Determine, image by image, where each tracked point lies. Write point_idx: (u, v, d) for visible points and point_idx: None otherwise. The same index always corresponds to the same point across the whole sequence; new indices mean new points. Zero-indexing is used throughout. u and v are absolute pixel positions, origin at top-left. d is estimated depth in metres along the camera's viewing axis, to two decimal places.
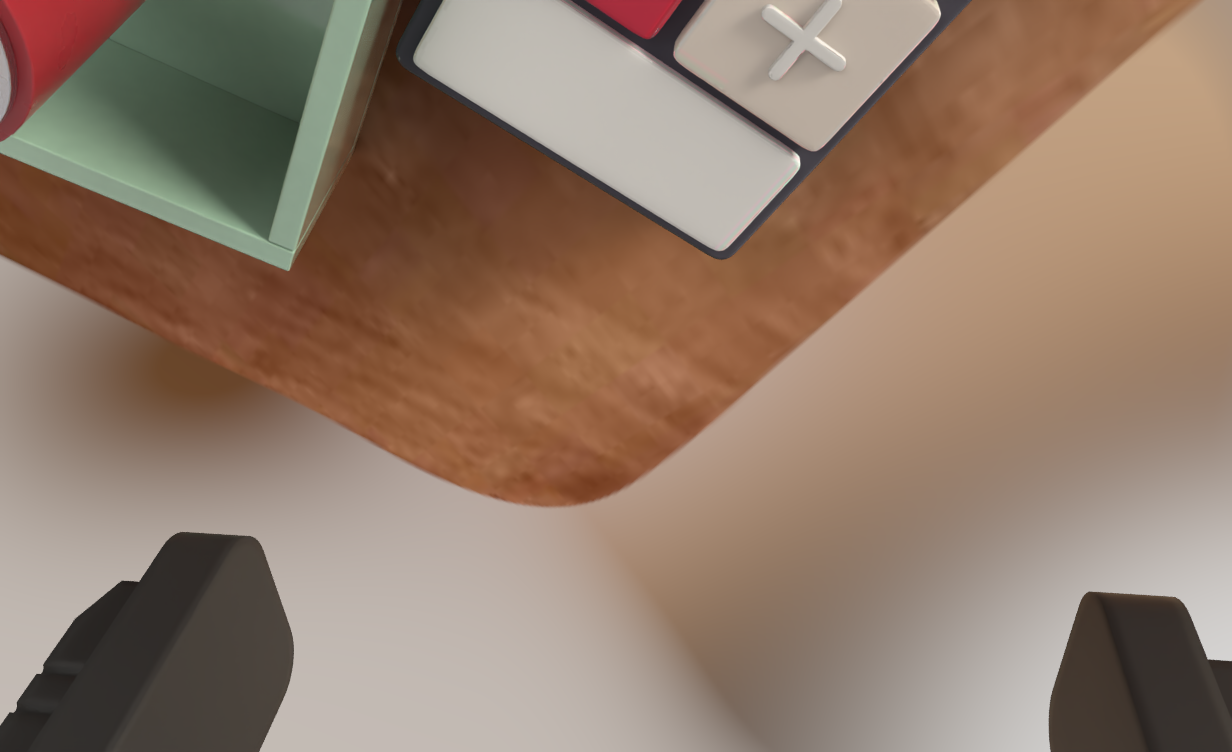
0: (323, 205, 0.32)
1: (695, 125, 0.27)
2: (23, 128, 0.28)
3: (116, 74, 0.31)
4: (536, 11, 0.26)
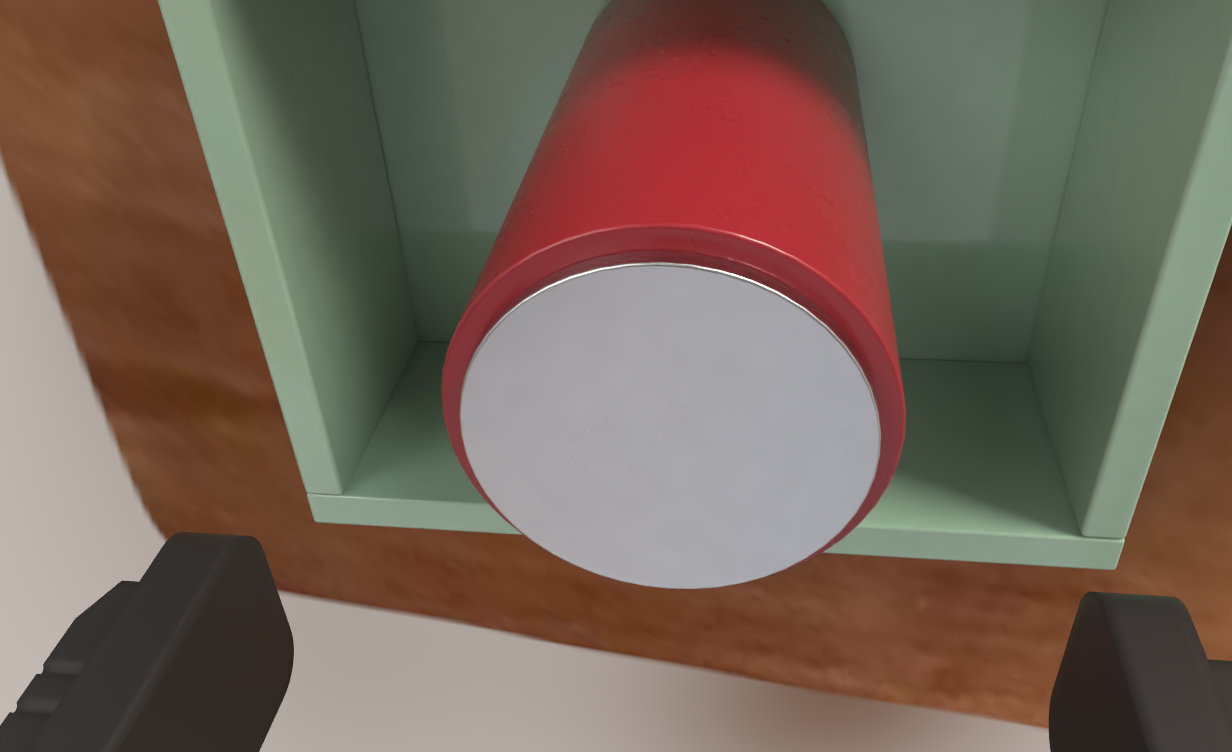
0: None
1: None
2: None
3: None
4: None
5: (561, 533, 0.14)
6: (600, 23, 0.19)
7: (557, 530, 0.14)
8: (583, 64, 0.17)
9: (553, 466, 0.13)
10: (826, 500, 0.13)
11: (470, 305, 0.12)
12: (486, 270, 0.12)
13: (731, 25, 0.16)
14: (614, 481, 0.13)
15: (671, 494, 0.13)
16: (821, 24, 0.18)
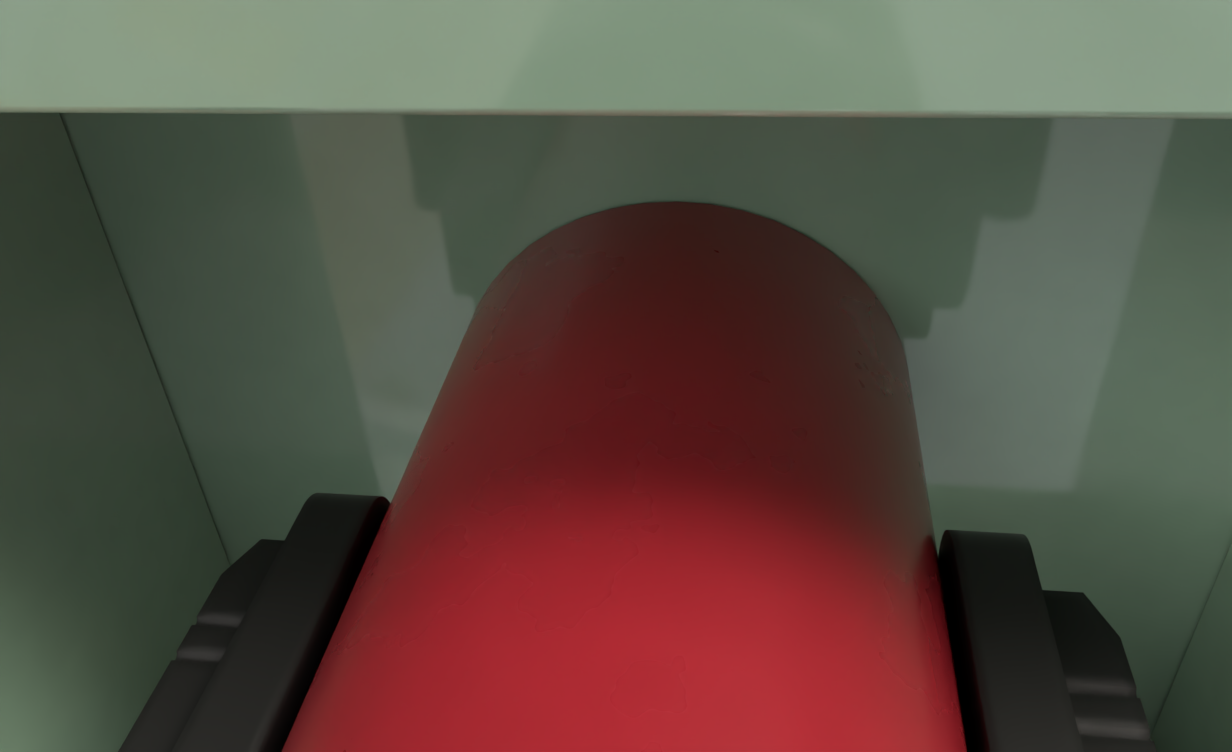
0: None
1: None
2: None
3: None
4: None
5: None
6: (487, 315, 0.11)
7: None
8: (436, 438, 0.10)
9: None
10: None
11: None
12: None
13: (695, 413, 0.09)
14: None
15: None
16: (857, 336, 0.11)
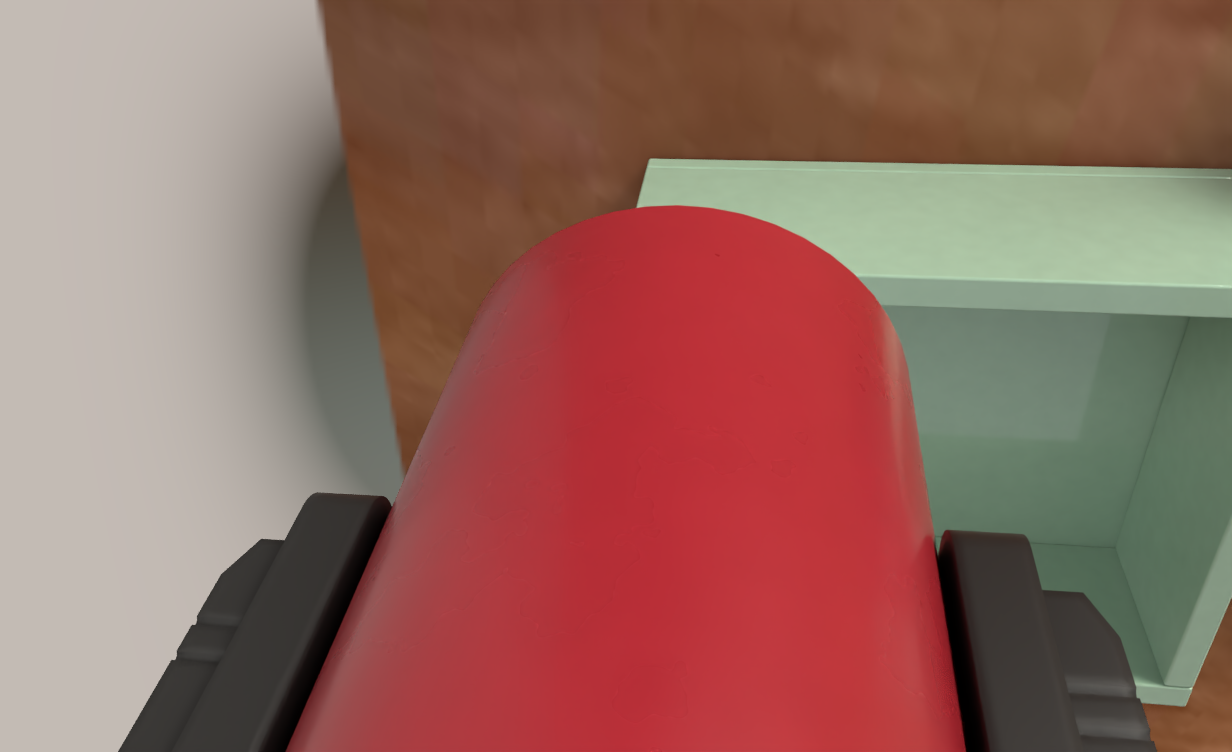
0: None
1: None
2: None
3: None
4: None
5: None
6: (488, 318, 0.11)
7: None
8: (437, 442, 0.10)
9: None
10: None
11: None
12: None
13: (695, 418, 0.09)
14: None
15: None
16: (857, 340, 0.11)
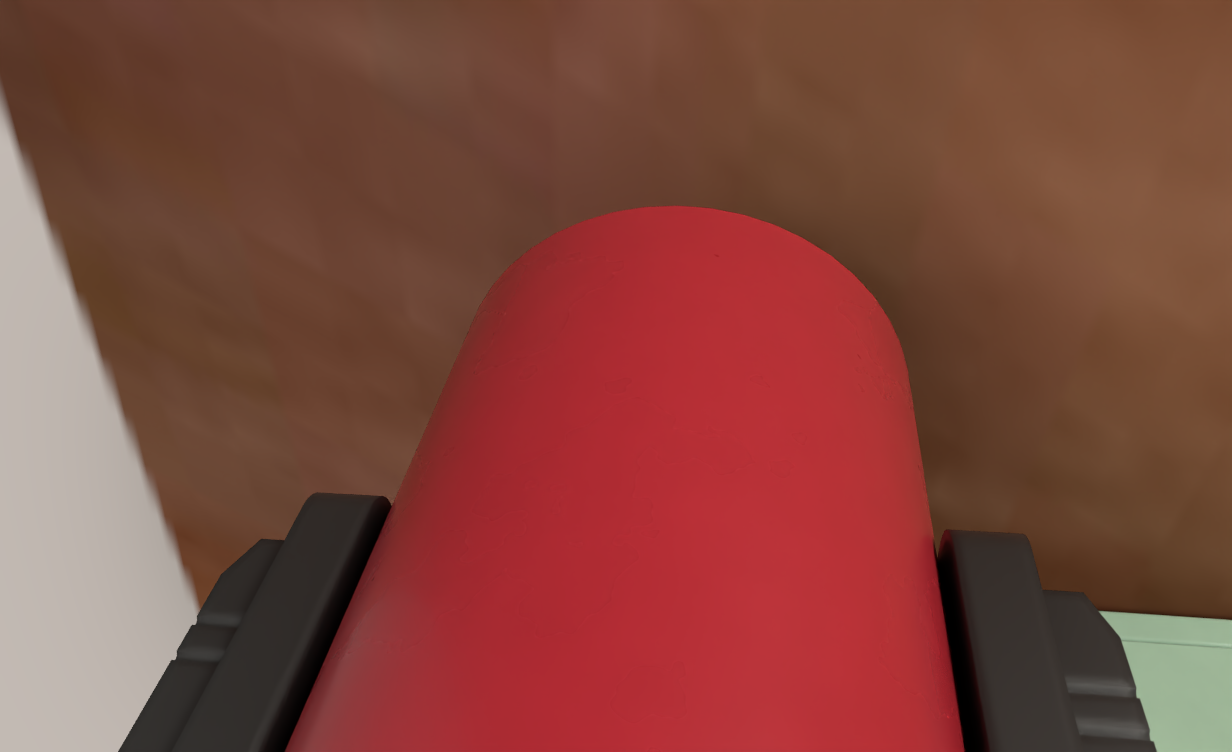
0: None
1: None
2: None
3: None
4: None
5: None
6: (487, 319, 0.11)
7: None
8: (437, 442, 0.10)
9: None
10: None
11: None
12: None
13: (695, 417, 0.09)
14: None
15: None
16: (856, 340, 0.11)
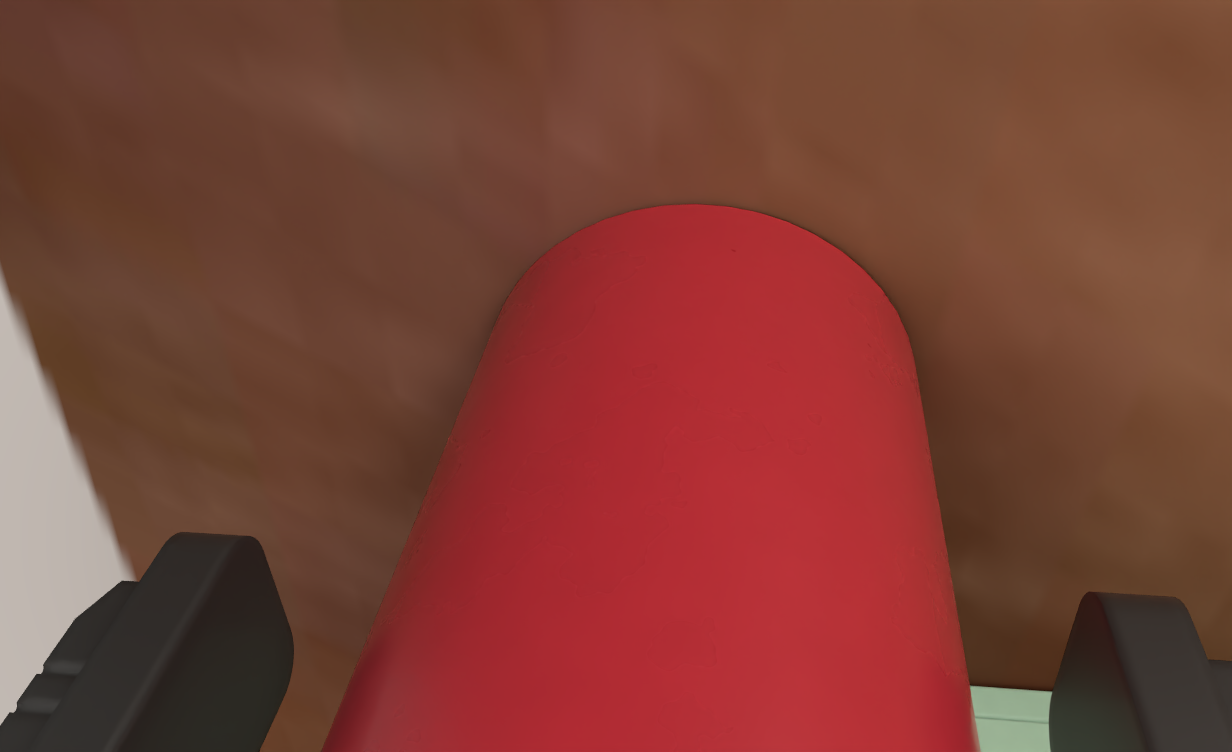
0: None
1: None
2: None
3: None
4: None
5: None
6: (515, 312, 0.12)
7: None
8: (472, 426, 0.10)
9: None
10: None
11: None
12: None
13: (717, 399, 0.09)
14: None
15: None
16: (866, 330, 0.11)
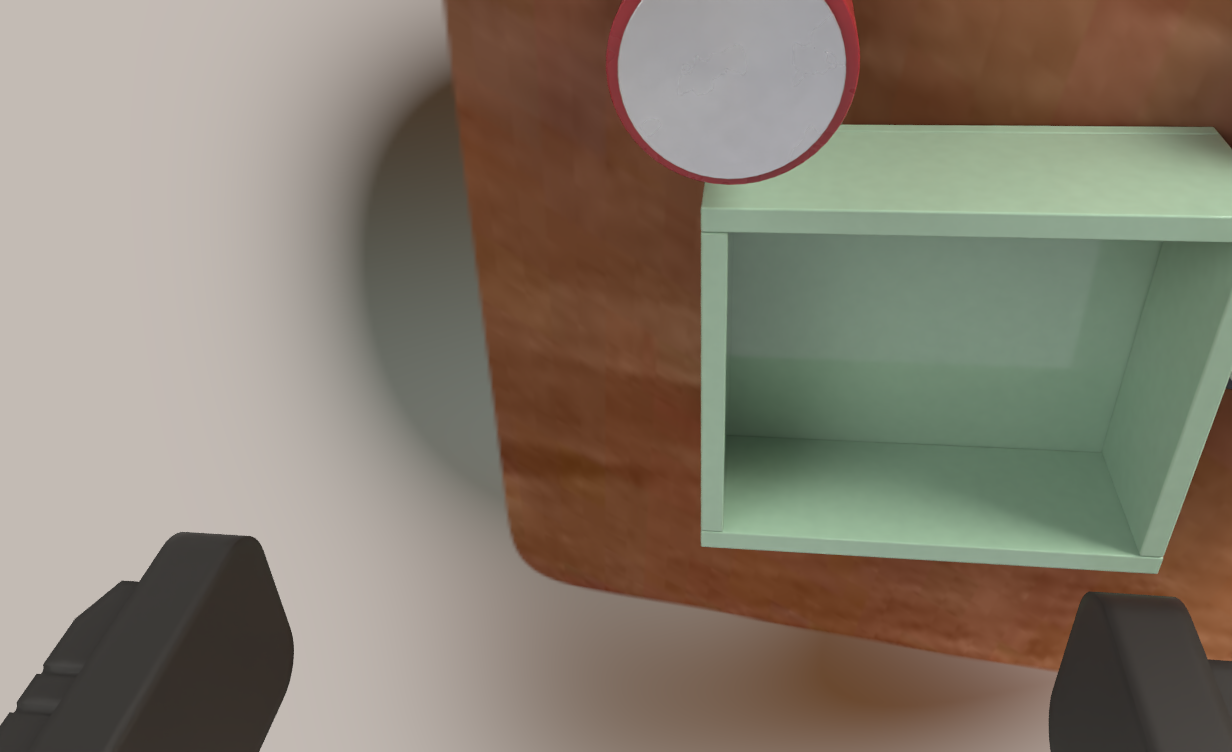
0: None
1: None
2: (930, 536, 0.37)
3: (941, 468, 0.39)
4: None
5: (669, 141, 0.24)
6: None
7: (667, 139, 0.24)
8: None
9: (667, 93, 0.23)
10: (817, 107, 0.23)
11: None
12: None
13: None
14: (701, 101, 0.23)
15: (732, 109, 0.23)
16: None
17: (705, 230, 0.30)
